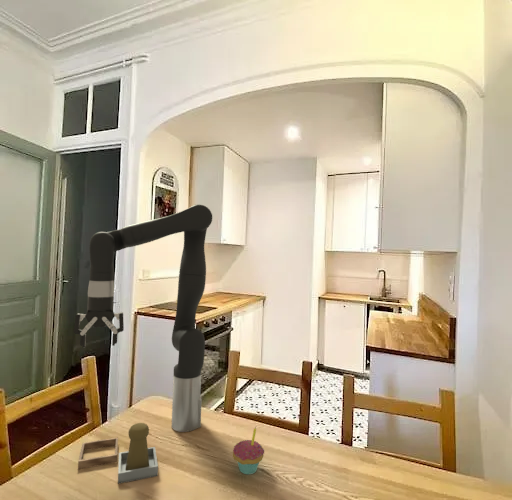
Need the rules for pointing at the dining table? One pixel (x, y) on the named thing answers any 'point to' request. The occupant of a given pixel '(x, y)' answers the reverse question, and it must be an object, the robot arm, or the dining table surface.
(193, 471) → the dining table surface
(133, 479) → the grey tray
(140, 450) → the olive pawn
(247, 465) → the cupcake
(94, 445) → the walnut frame
